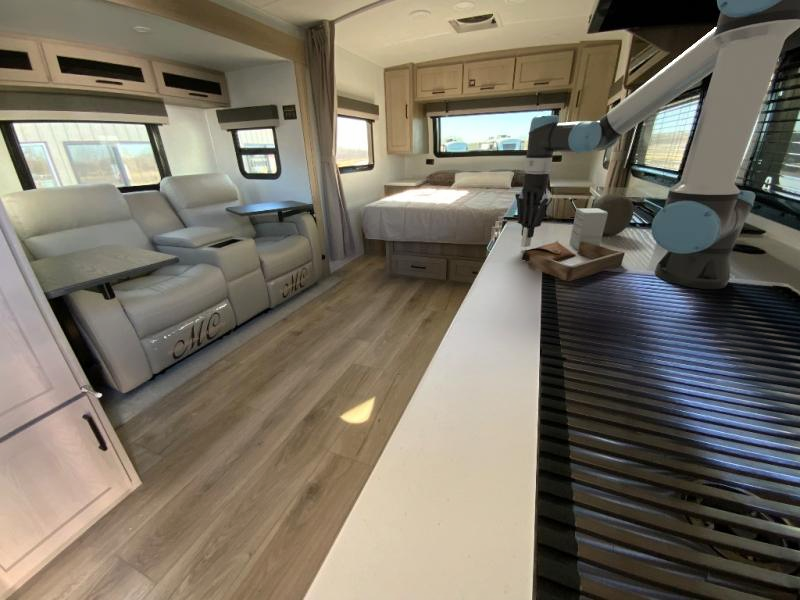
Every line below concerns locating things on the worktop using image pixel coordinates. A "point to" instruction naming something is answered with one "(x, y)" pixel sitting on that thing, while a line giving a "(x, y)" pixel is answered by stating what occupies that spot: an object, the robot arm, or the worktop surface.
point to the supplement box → (588, 226)
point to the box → (602, 261)
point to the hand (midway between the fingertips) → (525, 245)
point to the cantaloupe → (615, 213)
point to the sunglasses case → (549, 252)
